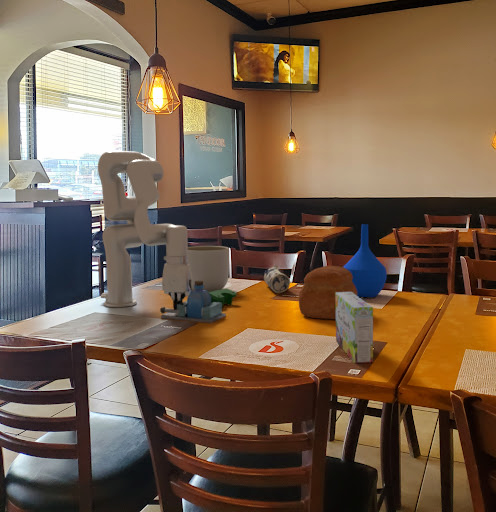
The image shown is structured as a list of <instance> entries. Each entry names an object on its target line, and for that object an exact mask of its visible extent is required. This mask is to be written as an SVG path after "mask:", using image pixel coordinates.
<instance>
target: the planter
mask: <svg viewBox="0 0 496 512" xmlns="http://www.w3.org/2000/svg"><path fill="white" fill-rule="evenodd" d="M188 264H189V265H190V270H191V277H192V290H191V291H194V290H195V288H194V285H195V282H194V281H203V284H204V288H203V290H207V291H208V292H212V291H217V290H221V289H225V288H224V287H226V286H227V284H228V282H229V274H230V272H229V271H230V248H229V247H227V246H222V245H198V246H195V245H194V246H188Z"/></svg>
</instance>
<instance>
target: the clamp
mask: <svg viewBox="0 0 496 512" xmlns="http://www.w3.org/2000/svg"><path fill="white" fill-rule="evenodd" d="M208 293H209V294H210V296H211V303H213V302H219V303H222V308H223V307H224V304H225V305H229V306H232V304H233V299H234V298H237V294H238V292H236V291H233V290H232V289H229V288H227V287H226V288H223V289H221V290H217V291H212V292H208Z"/></svg>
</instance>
